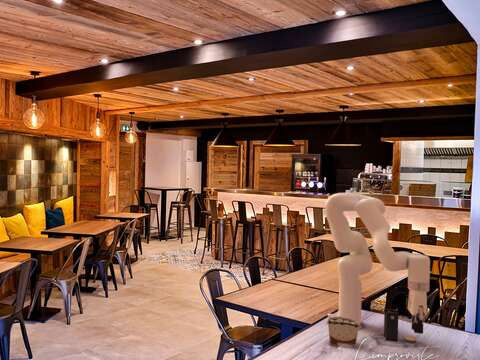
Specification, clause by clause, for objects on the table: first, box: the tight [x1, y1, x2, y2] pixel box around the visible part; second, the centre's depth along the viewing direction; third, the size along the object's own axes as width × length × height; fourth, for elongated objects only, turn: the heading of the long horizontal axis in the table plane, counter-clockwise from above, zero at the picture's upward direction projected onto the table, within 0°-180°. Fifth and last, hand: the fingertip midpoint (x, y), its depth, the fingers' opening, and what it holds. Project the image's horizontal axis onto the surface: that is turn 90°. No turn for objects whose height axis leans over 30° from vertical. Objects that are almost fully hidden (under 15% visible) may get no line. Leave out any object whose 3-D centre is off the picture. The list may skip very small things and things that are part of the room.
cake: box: [402, 334, 417, 344], centre depth 187 cm, size 5×5×3 cm
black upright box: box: [383, 308, 400, 343], centre depth 189 cm, size 10×8×13 cm
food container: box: [326, 317, 361, 347], centre depth 186 cm, size 12×6×10 cm, turn 71°
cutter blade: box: [388, 311, 415, 325], centre depth 187 cm, size 13×3×3 cm, turn 73°
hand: (417, 331), depth 186 cm, fingers closed on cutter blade, 3 cm apart
